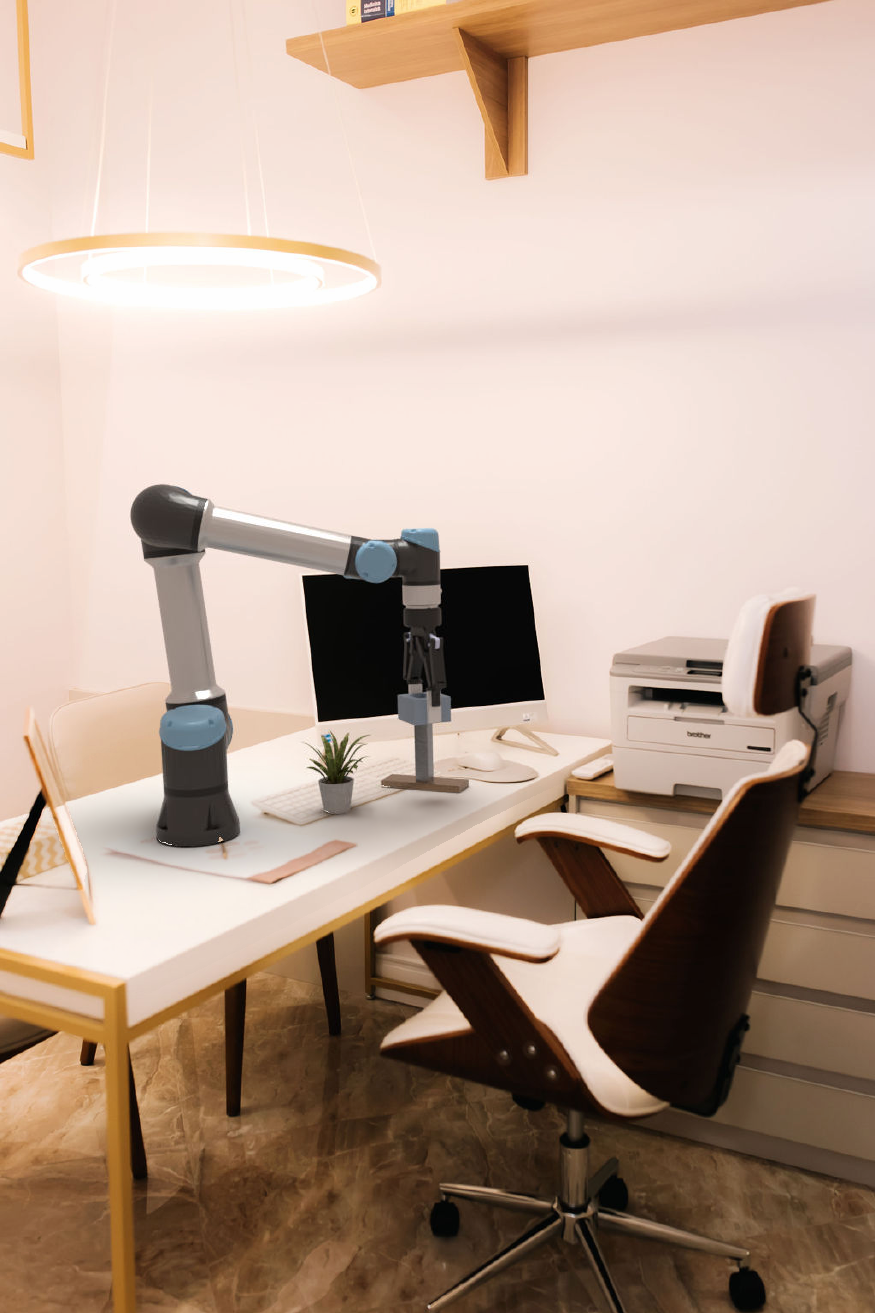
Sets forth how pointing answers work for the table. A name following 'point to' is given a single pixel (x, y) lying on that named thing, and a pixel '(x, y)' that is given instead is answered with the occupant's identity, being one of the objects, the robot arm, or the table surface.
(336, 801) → the house plant
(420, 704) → the blue-grey hollow block
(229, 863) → the table surface
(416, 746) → the keyed post
